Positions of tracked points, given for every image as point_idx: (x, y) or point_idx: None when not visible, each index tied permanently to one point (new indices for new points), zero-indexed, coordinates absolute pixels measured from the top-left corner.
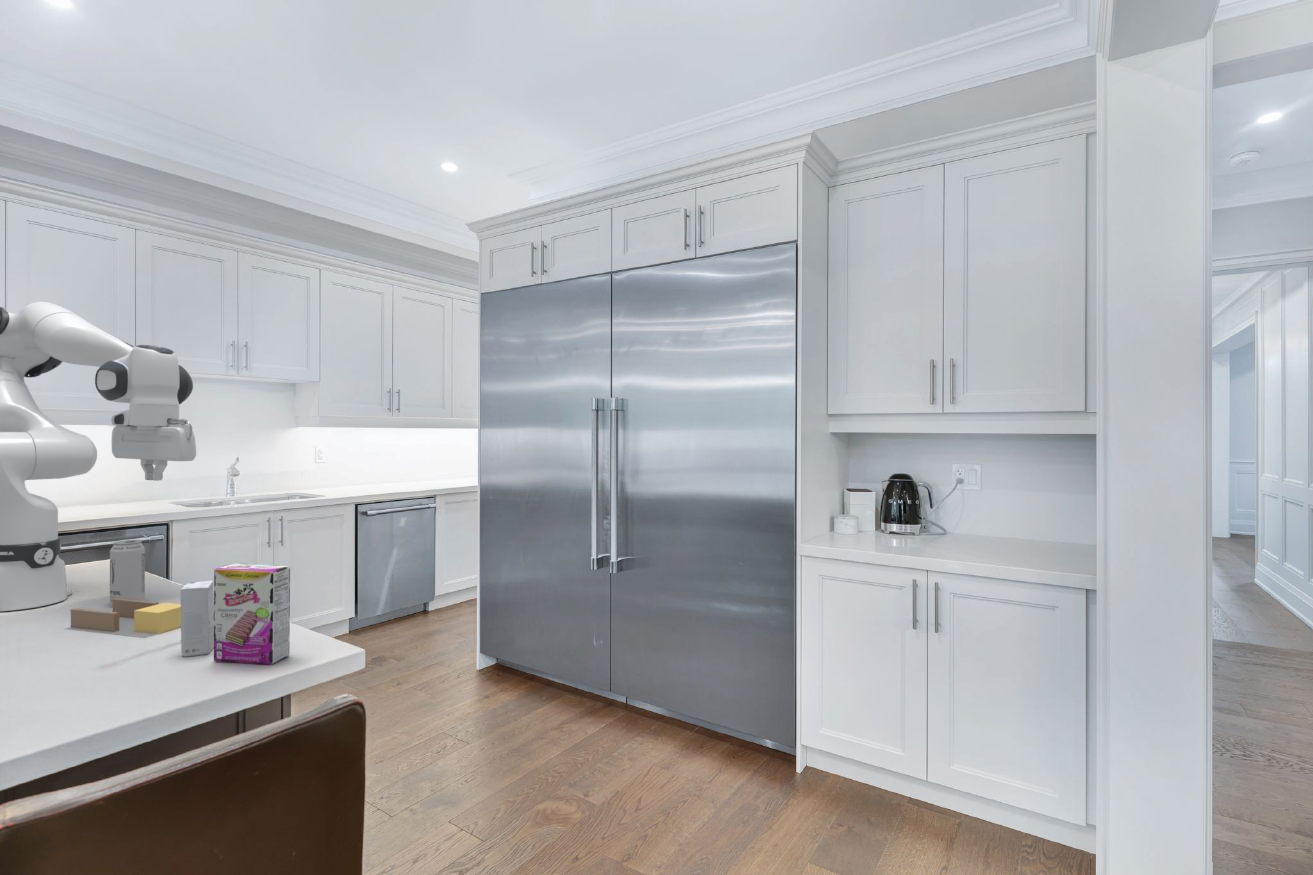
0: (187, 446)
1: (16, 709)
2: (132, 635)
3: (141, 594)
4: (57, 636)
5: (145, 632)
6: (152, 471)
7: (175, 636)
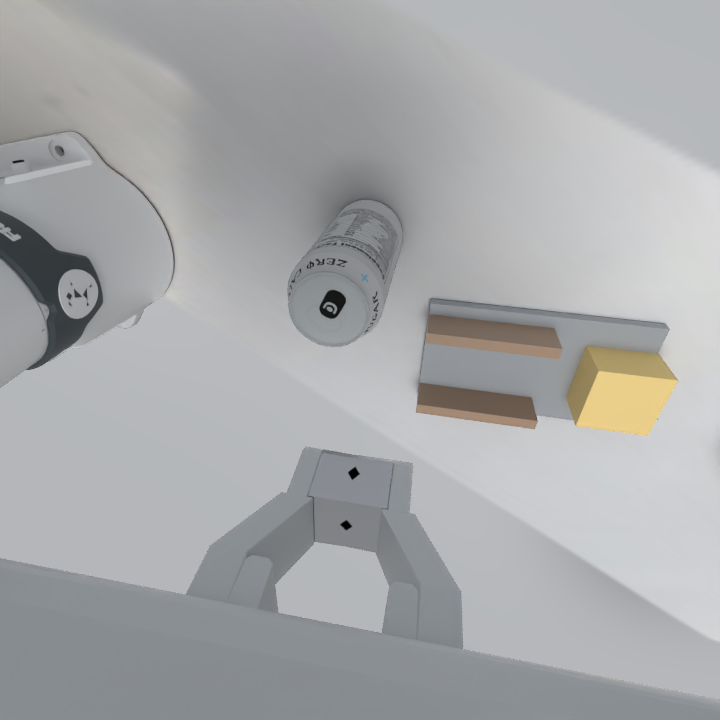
0: None
1: (630, 585)
2: None
3: (399, 238)
4: None
5: None
6: (311, 515)
7: None
